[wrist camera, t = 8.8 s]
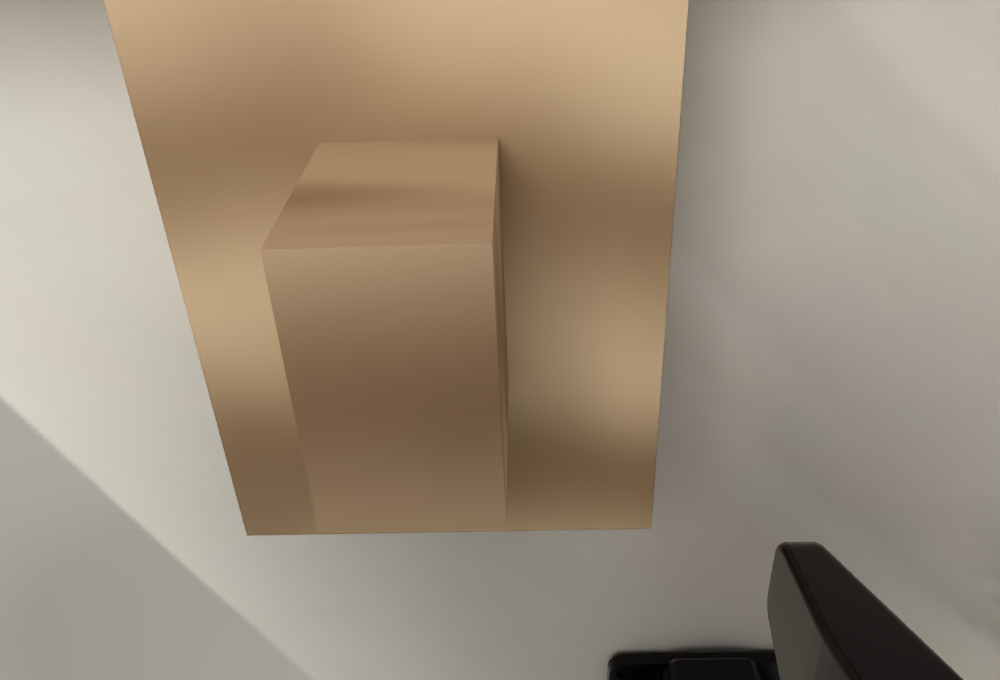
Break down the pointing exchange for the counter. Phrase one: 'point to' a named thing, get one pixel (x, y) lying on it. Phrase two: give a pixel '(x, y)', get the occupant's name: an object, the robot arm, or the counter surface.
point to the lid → (420, 249)
